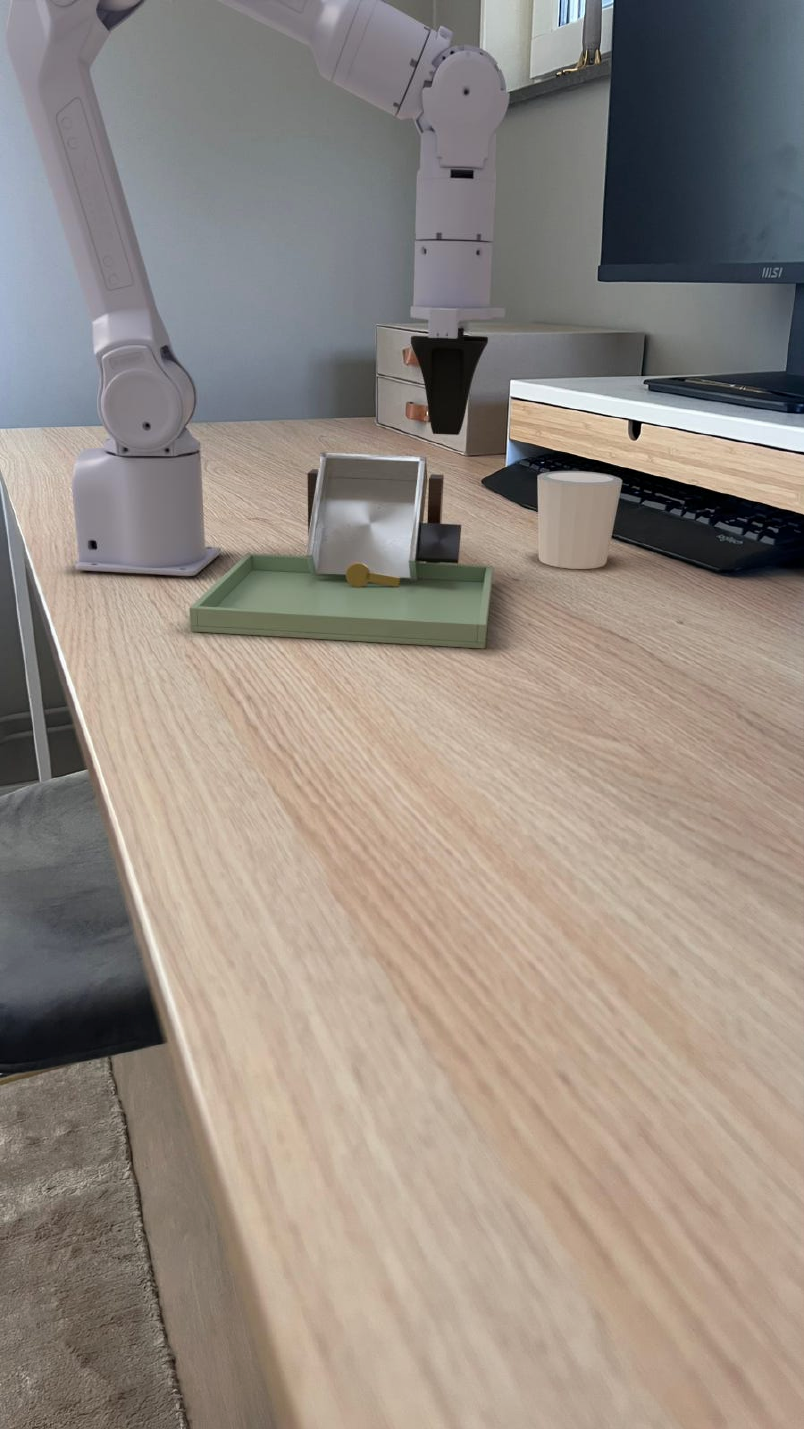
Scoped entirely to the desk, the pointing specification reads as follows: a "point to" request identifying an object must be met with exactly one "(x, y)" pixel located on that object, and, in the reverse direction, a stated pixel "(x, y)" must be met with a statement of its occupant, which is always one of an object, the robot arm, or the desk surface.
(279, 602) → the tray
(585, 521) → the white cup
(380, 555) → the rectangular metal pan
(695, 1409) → the desk surface
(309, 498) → the stand
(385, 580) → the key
